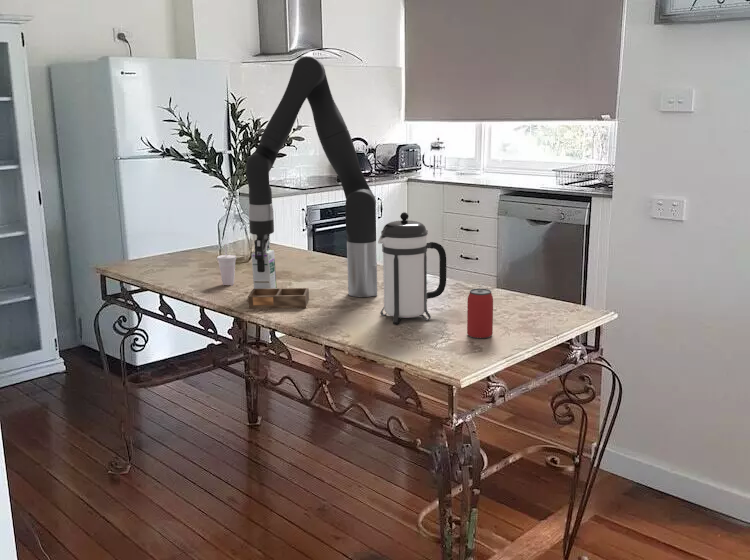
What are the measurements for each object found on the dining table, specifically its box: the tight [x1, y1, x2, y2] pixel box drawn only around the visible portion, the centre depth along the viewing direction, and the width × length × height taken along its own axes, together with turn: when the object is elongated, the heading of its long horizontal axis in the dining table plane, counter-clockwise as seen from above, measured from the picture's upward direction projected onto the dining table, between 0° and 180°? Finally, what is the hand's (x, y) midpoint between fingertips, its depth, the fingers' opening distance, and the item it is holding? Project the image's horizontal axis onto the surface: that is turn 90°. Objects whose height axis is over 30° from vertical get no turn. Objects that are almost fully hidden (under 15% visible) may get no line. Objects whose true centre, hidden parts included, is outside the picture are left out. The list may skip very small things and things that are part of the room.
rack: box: [247, 287, 310, 310], centre depth 231 cm, size 17×10×4 cm, turn 89°
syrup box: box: [251, 248, 278, 289], centre depth 240 cm, size 6×6×14 cm
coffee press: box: [377, 211, 447, 325], centre depth 212 cm, size 17×16×30 cm
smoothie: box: [216, 243, 237, 286], centre depth 255 cm, size 6×6×14 cm
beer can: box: [466, 287, 494, 340], centre depth 196 cm, size 7×7×12 cm
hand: (263, 268), depth 240 cm, fingers open, 8 cm apart
